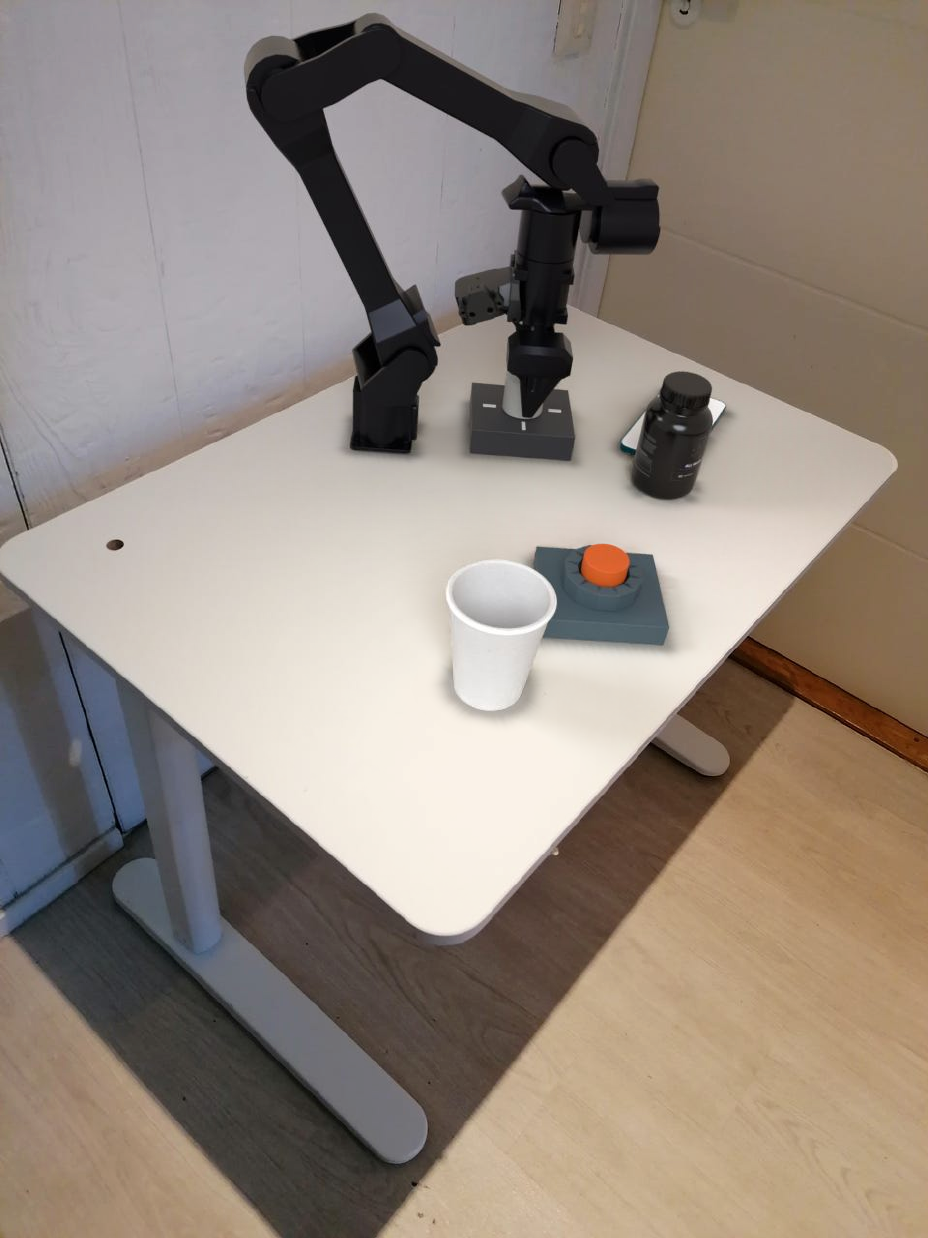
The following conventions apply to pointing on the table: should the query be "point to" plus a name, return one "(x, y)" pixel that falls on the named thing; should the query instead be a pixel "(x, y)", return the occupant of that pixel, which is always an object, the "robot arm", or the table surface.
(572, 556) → the button housing
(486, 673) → the dixie cup
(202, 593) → the table surface
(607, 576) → the button
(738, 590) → the table surface
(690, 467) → the supplement bottle
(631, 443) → the smartphone
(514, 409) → the timer knob
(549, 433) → the timer panel
